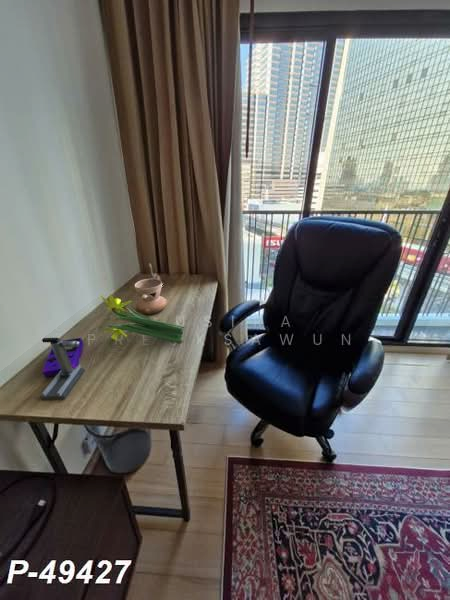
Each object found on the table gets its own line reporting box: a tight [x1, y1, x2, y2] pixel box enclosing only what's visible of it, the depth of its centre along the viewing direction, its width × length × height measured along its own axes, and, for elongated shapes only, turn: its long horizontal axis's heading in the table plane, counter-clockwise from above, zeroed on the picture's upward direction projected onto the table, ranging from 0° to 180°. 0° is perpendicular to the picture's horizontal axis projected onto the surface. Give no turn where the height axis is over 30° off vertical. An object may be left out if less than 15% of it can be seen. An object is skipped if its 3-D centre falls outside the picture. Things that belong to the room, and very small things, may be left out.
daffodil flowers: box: [100, 293, 185, 344], centre depth 99 cm, size 17×15×35 cm
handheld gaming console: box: [41, 337, 84, 378], centre depth 89 cm, size 9×5×15 cm
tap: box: [41, 337, 80, 377], centre depth 79 cm, size 10×3×14 cm, turn 91°
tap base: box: [39, 364, 86, 401], centre depth 79 cm, size 7×12×3 cm, turn 1°
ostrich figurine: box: [146, 263, 162, 281], centre depth 141 cm, size 17×7×18 cm, turn 171°
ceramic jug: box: [134, 278, 168, 315], centre depth 121 cm, size 18×14×14 cm
